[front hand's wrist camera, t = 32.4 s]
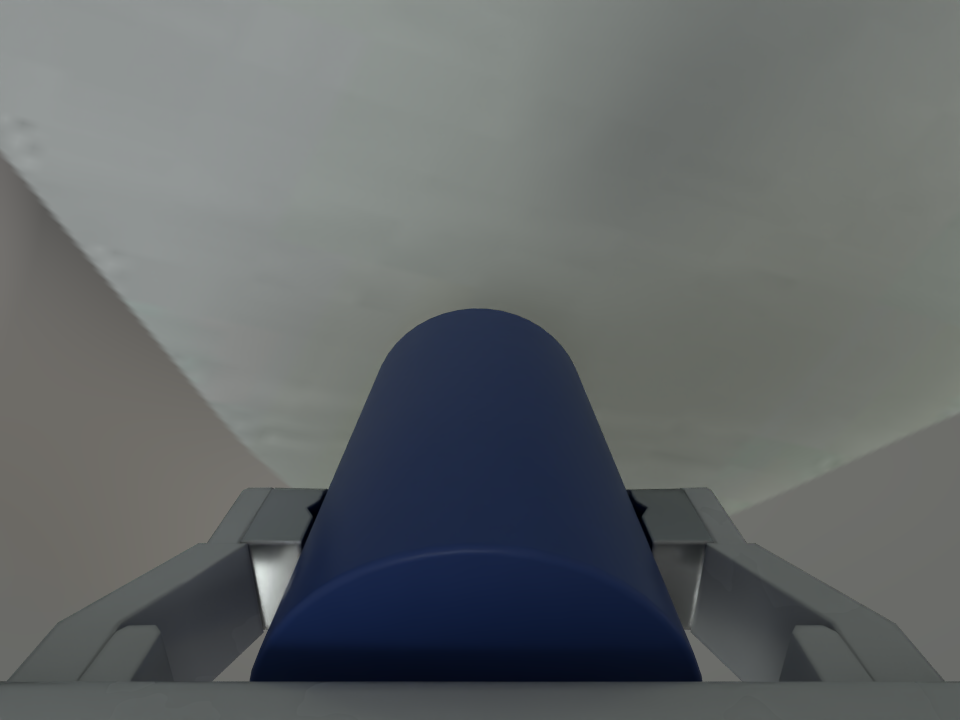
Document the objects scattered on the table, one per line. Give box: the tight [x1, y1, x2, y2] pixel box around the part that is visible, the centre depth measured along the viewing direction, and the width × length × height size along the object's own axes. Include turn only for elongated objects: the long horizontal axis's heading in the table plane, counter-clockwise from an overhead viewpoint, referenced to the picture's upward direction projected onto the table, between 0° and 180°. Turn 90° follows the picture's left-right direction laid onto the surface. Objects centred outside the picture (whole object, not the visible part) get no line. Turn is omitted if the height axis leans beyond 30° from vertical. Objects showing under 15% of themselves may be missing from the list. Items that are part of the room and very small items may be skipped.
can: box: [250, 309, 702, 682], centre depth 11 cm, size 6×6×9 cm
